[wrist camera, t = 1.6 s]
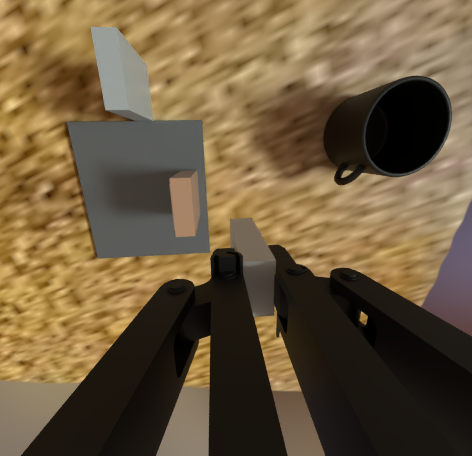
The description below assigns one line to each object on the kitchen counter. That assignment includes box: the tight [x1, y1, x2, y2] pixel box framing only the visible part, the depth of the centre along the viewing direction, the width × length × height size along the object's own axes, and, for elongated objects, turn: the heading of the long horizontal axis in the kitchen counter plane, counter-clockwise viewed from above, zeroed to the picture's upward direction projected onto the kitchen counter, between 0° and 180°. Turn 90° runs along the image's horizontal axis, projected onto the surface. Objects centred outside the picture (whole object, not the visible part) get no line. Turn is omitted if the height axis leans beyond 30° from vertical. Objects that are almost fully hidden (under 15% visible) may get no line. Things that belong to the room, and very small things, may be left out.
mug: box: [324, 76, 452, 185], centre depth 28 cm, size 9×12×9 cm
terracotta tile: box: [169, 170, 200, 237], centre depth 28 cm, size 6×2×9 cm, turn 1°
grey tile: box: [91, 27, 154, 121], centre depth 24 cm, size 6×2×9 cm, turn 1°
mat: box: [67, 120, 210, 258], centre depth 32 cm, size 18×16×1 cm
